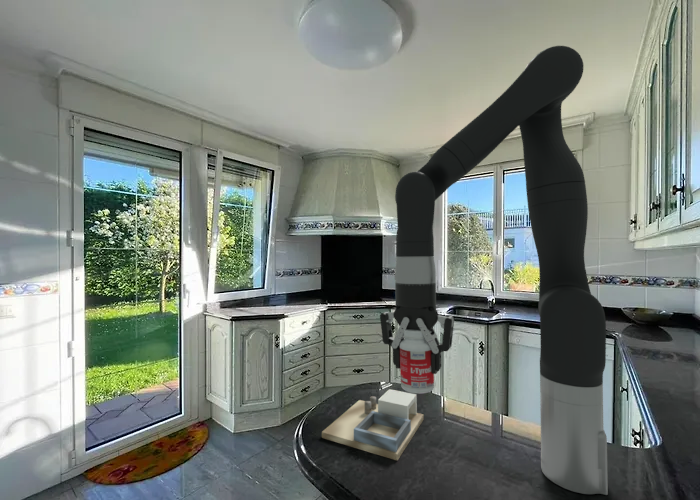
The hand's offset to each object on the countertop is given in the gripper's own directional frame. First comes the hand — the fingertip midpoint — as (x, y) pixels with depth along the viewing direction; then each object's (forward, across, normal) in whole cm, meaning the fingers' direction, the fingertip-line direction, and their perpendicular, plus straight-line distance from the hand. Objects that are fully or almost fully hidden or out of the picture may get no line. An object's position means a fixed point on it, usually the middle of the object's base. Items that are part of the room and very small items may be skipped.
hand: (416, 369), depth 62 cm
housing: (+16, +9, -13) cm, 22 cm away
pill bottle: (+4, 0, 0) cm, 4 cm away
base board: (+17, +12, -8) cm, 23 cm away
